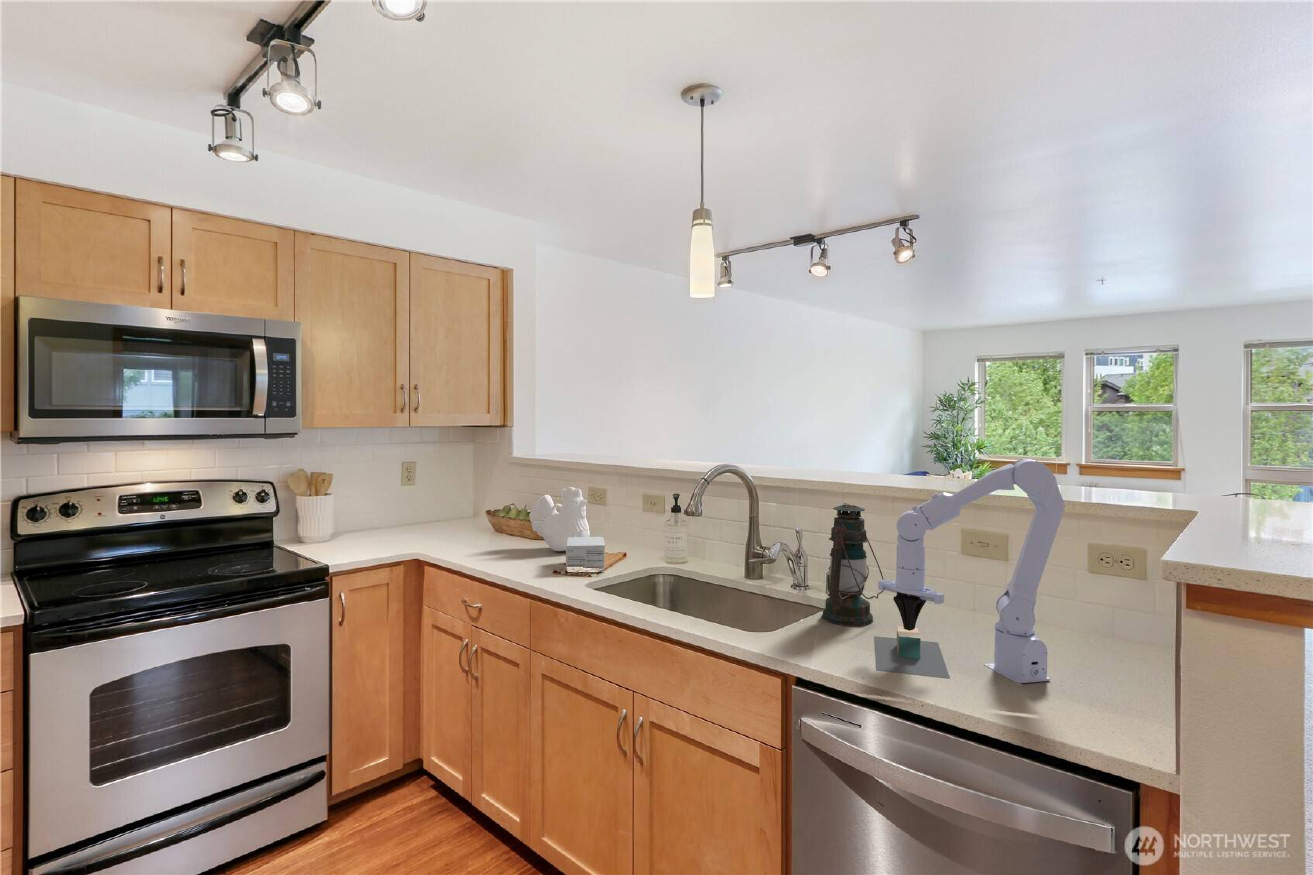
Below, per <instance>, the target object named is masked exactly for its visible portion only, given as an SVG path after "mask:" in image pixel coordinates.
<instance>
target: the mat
mask: <svg viewBox="0 0 1313 875" xmlns="http://www.w3.org/2000/svg"><path fill="white" fill-rule="evenodd" d="M873 639H874V656H875V658H874V659H875V671H876V672H884V673H885V672H888V673H894V674H895V673H897V674H904V675H913V676H922V677H930V678H940V679H947V680H948V679H951V678H950V674H949V671H948V668H947V666H946V662H945V660H944V657H943V656H944V655H943V654H942V650H941V647H940V644H939V642H937V641H930V640H929V641H927V640H926V641H925V640H920V659H918V658H909V657H899V656H898V651H897V637H896V638H895V637H885V636H878V635H877V636H876V635H875V636H873Z"/></svg>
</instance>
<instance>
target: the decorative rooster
mask: <svg viewBox="0 0 1313 875" xmlns="http://www.w3.org/2000/svg"><path fill="white" fill-rule="evenodd" d="M560 497H561V499H562V503H555V504H554V501H553V499H552V497H551V496H550V495H549V494H544V495H543V496H540V497H539V498H538V500H536V501H535V502H534V503H533V504H532V507H531V512H530V513H529V514H528V516H529V521H530V522H531V528H532V530H533V531H534V532H536V534H537V535H538V536H539V537H543V539H544V541H545V543H546V545H547V546H548V547H549V548H550V549H551V550H553V552H566V545H567V537H591V536H590V535H591V532H590V526H589V523H588V520H587V517H586V516H587V511H586V510H587V507H586V505H587V503H588V500H586V499H585V498H583V492H582V489H580V488H578V487H577V488H575V487H574V486H568V487H566V488H562V490H561V491H560ZM557 508H559V512H558V511H557Z"/></svg>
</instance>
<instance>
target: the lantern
mask: <svg viewBox="0 0 1313 875" xmlns="http://www.w3.org/2000/svg"><path fill="white" fill-rule="evenodd" d="M832 510H835V511H836V517H833V527H831V531H830V532H831V533H830V537H829V538H828V540H829V541H831V542H832V548H831V549H830V553H829V556H830V563H829V567H828V572H829V573H828V575H829V577H828V578H829V592H828V594H827V596H828V597H827V598H825V604H824V605H825V607H824V609H823V610H822V615H821V617H822V619H823V620H824V621H827V622H829V623H832V624H836V625H839V626H845V627H862V626H867V625H870V624H872V623H873V622H874V619H873V618H874V616H873V614H872V613H871V602H870V601H868V600H871V599H874V598H875V599H876V600H877V599H879V595H881V594H882V593H883V592H884V591H885V590H880V592H878V593H877V594H876V595H873V596H869V597H868V596H866V595H865V594H864V593H863V592H864V589H865V585H866V584H865V583H867V580H868V579H869V578H868V577H869V574H870V568H869V566H868V564H867V558H868V556H867V551H866V550H865V549H864V544H865V543H868V546H869V549H870V550H871V553H872V555H873V557H874V560H875V562H876V566H877V568H878V570H879V573H880V576H881V578H882V580H885V579H884V576H883V572H882V569H881V568H880V565H879V562H878V559H877V557H876V555H875V552H874V550H873V548H872V545H871V543H870V541H869V538H868V537H867V536H868V535H867V530H866V529H865V519H864V518H862V515H861V513H862V512H865V510H866V508H863V507H859V506H857V505H853V504H852V505H851V504H849V503H847V502H845V503H844V504H843V505H837V506H834V507H832ZM862 596H863V597H864V598H863V597H862Z"/></svg>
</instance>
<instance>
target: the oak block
mask: <svg viewBox="0 0 1313 875" xmlns="http://www.w3.org/2000/svg"><path fill="white" fill-rule="evenodd" d="M896 638H897V651H898V656H899V657H909V658H918V659H920V641H921V635H920V632H919V628H918V627H915V629H913V630H910V631H909V630H905V629H904V626H900V625H897V626H896Z"/></svg>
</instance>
